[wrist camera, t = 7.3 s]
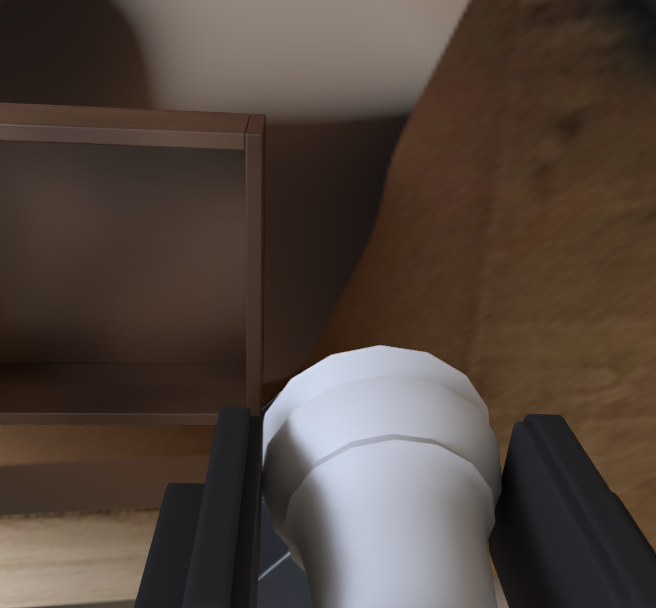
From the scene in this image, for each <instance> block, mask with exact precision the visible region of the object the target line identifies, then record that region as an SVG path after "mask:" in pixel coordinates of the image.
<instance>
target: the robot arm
mask: <svg viewBox="0 0 656 608" xmlns="http://www.w3.org/2000/svg"><path fill="white" fill-rule="evenodd" d="M263 420H264V419H263V416H252V408H251V407H226V406H220V408H219V413H218V418H217V423H216V429H215V434H214V439H213V445H212V450H211V455H210V461H209V466H208V472H207V476H206V482H205V484H185V483H169V484H168V486H167V488H166V491H165V494H164V498H163V502H162V505H161V509H160V513H159V517H158V520H157V524H156V528H155V531H154V535H153V539H152V543H151V546H150V550H149V554H148V558H147V561H146V565H145V569H144V572H143V576H142V580H141V584H140V587H139V591H138V595H137V599H136V602H135V606H134V608H257V593H258V577H259V562H260V545H261V510H262V466H263ZM501 479H502V492H501V494H500V497H499V499H498V502H497V504H496V507H495V509H494V514H495V524H494V527H493V529H492V531H491V534H490V536H489V539H488V543H489V551H490V555H491V558H492V561H493V564H494V566H495V569H496V572H497V575H498V578H499V581H500V583H501V586H502V589H503V592H504V595H505V598H506V600H507V603H508V606H509V608H656V553H655V551H654V550H653V548H652V547H651V545H650V544H649V542H648V541H647V539H646V538H645V536H644V535H643V533H642V532H641V530H640V529H639V527H638V526H637V524H636V522H635V521H634V519H633V518H632V516H631V515H630V513H629V512H628V510H627V509H626V507H625V506H624V504H623V503H622V501H621V500H620V499H619V498H618V496H617V495H616V494H615V493H613V492H611V490H610V489H609V487H608V486H607V484H606V483H605V481H604V480H603V478H602V476H601V475H600V473H599V472H598V470H597V469H596V467H595V466H594V464H593V463H592V461H591V460H590V458H589V456H588V455H587V453H586V452H585V450H584V449H583V447H582V446H581V444H580V443H579V441H578V440H577V438H576V436H575V435H574V433H573V432H572V430H571V429H570V427H569V426H568V424H567V423H566V421H565V420H564V418H563V417H562V416H560V415H549V414H528V415H526V416H525V418H524V420H523V422H516V423H515V425H514V427H513V431H512V435H511V439H510V444H509V448H508V452H507V457H506V461H505V465H504V469H503V474H502V478H501Z"/></svg>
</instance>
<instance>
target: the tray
mask: <svg viewBox="0 0 656 608" xmlns="http://www.w3.org/2000/svg"><path fill="white" fill-rule="evenodd" d="M265 116H266V115H265V114H245V113H222V112H198V111H177V110H153V109H131V108H107V107H85V106H62V105H39V104H15V103H0V424H21V425H216V423H217V418H218V413H219V408H220V406H226V407H251V408H252V416H261V406H262V386H263V341H264V336H263V335H264V232H265V229H264V228H265V126H266V125H265V124H266V123H265V122H266V117H265Z"/></svg>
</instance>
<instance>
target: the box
mask: <svg viewBox="0 0 656 608" xmlns="http://www.w3.org/2000/svg"><path fill="white" fill-rule="evenodd" d="M281 392H282V391H281ZM281 392H280V393H281ZM280 393H278V394H277V395H276V396H275V397H274V398H273V399H272V400H271V401H270V402H269V403H268V404H267V405H265V406H264V407H263V408H262V409H261V416H263V419H264V417H265V413H266V412H267V410H268V409H269V408H270V406H271V405H272V404H273V402H274V401H275V400H276V398H277V397H278V396H279V394H280ZM263 423H264V420H263ZM262 467H263V466H262ZM257 608H313V605H312V600H311V594H310V589H309V584H308V578H307V574H306V573H305V572H304V571H303V570H302V569H301V568H300V567H299V566H298V565H297V564H296V562H295V561H294V560H293V559H292V557H291V554H290V550H289V547H288V545H287V544H286V543H285V542H284V541H283V540H282V539H281V538H280V537H279V536H278V535H277V534H276V533H275V530H274V527H273V524H272V521H271V518H270V515H269V511H268V508H267V505H266V502H265V499H264V496H263V492H262V510H261V545H260V562H259V577H258V593H257Z"/></svg>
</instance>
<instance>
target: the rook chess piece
mask: <svg viewBox="0 0 656 608" xmlns="http://www.w3.org/2000/svg"><path fill="white" fill-rule="evenodd" d="M262 492H263V496H264V499H265V502H266V505H267V508H268V511H269V515H270V518H271V521H272V524H273V527H274V530H275V533H276V534H277V535H278V536H279V537H280V538H281V539H282V540H283V541H284V542H285V543H286V544H287V545H288V547H289V550H290V554H291V557H292V559H293V560H294V561H295V562H296V564H297V565H298V566H299V567H300V568H301V569H302V570H303V571H304V572H305V573H306V574H307V578H308V584H309V589H310V594H311V600H312V605H313V608H497V602H496V598H495V591H494V586H493V580H492V575H491V569H490V564H489V558H488V553H487V541H488V539H489V536H490V534H491V531H492V529H493V527H494V524H495V514H494V509H495V507H496V504H497V502H498V499H499V497H500V494H501V492H502V479H501V466H500V456H499V446H498V438H497V436H496V435H495V433H494V432H493V430H492V429H491V427H490V426H489V416H488V407H487V406H486V404H485V403H484V402H483V400H482V399H481V397H480V396H479V394H478V393H477V391H476V390H475V388H474V387H473V385H472V384H471V382H470V381H469V379H468V378H467V376H466V375H465V374H463V373H461V372H460V371H458V370H456V369H455V368H453V367H451V366H450V365H448V364H446V363H445V362H443V361H441V360H440V359H438V358H436V357H434V356H433V355H431V354H429V353H428V352H421V351H415V350H408V349H402V348H395V347H389V346H382V345H378V346H373V347H368V348H363V349H358V350H353V351H348V352H343V353H337V354H332V355H330V356H328V357H327V358H325V359H323V360H322V361H320V362H318V363H317V364H315V365H313V366H312V367H310V368H308V369H307V370H305V371H303V372H302V373H300V374H298V375H297V376H295V377H293V378H292V379H290V381H289V382H288V384H287V385H286V386H285V388H284V389H283V390H282V392H281V393H280V394H279V396H278V397H277V398H276V400H275V401H274V402H273V404H272V405H271V406H270V408H269V409H268V410H267V412H266V413H265V417H264V423H263V467H262Z"/></svg>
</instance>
